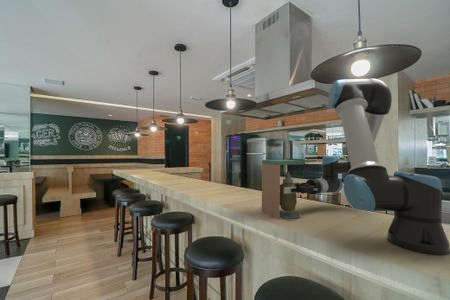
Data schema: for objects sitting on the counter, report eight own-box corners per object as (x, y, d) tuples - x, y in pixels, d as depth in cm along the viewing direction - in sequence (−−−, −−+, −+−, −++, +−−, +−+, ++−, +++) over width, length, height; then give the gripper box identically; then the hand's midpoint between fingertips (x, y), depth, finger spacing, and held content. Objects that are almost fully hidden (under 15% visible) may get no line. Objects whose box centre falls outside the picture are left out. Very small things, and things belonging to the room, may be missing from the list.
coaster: (306, 217, 99) (306, 216, 99) (285, 220, 94) (285, 219, 94) (288, 210, 110) (288, 209, 110) (268, 213, 105) (268, 212, 105)
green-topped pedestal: (304, 215, 102) (304, 159, 103) (276, 219, 96) (277, 159, 96) (287, 208, 113) (287, 158, 114) (261, 212, 107) (262, 158, 107)
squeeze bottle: (297, 212, 98) (298, 172, 98) (279, 211, 99) (279, 172, 99) (295, 208, 106) (296, 171, 106) (278, 207, 107) (278, 170, 107)
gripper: (332, 197, 101) (293, 201, 92) (302, 190, 119) (266, 193, 109) (332, 181, 101) (293, 184, 92) (302, 176, 119) (267, 178, 109)
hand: (279, 189), depth 100 cm, fingers closed on squeeze bottle, 6 cm apart
